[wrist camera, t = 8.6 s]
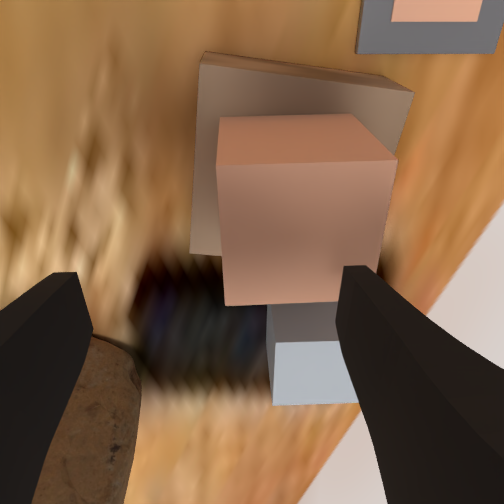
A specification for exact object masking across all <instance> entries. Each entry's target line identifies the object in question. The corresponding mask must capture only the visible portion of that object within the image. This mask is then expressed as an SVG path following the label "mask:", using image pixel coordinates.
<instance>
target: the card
mask: <svg viewBox="0 0 504 504" xmlns="http://www.w3.org/2000/svg"><path fill="white" fill-rule="evenodd" d="M503 23H504V0H362V1H361V9H360V17H359V25H358V32H357V40H356V48H355V53H356V54H494V53H495V49H496V46H497V43H498V39H499V36H500V33H501V29H502V26H503Z"/></svg>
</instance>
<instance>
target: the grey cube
mask: <svg viewBox="0 0 504 504" xmlns="http://www.w3.org/2000/svg"><path fill="white" fill-rule="evenodd" d="M337 306H338V301H335V302H311V303H286V304H267V331H266V346H267V356H268V366H269V376H270V386H271V396H272V406H277V405H305V404H334V403H359V401H358V398H357V396H356V393H355V390H354V387H353V385H352V382H351V379H350V376H349V373H348V370H347V367H346V365H345V362H344V359H343V356H342V352H341V348H340V343H339V339H338V334H337V329H336V324H335V318H336V312H337Z"/></svg>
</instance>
